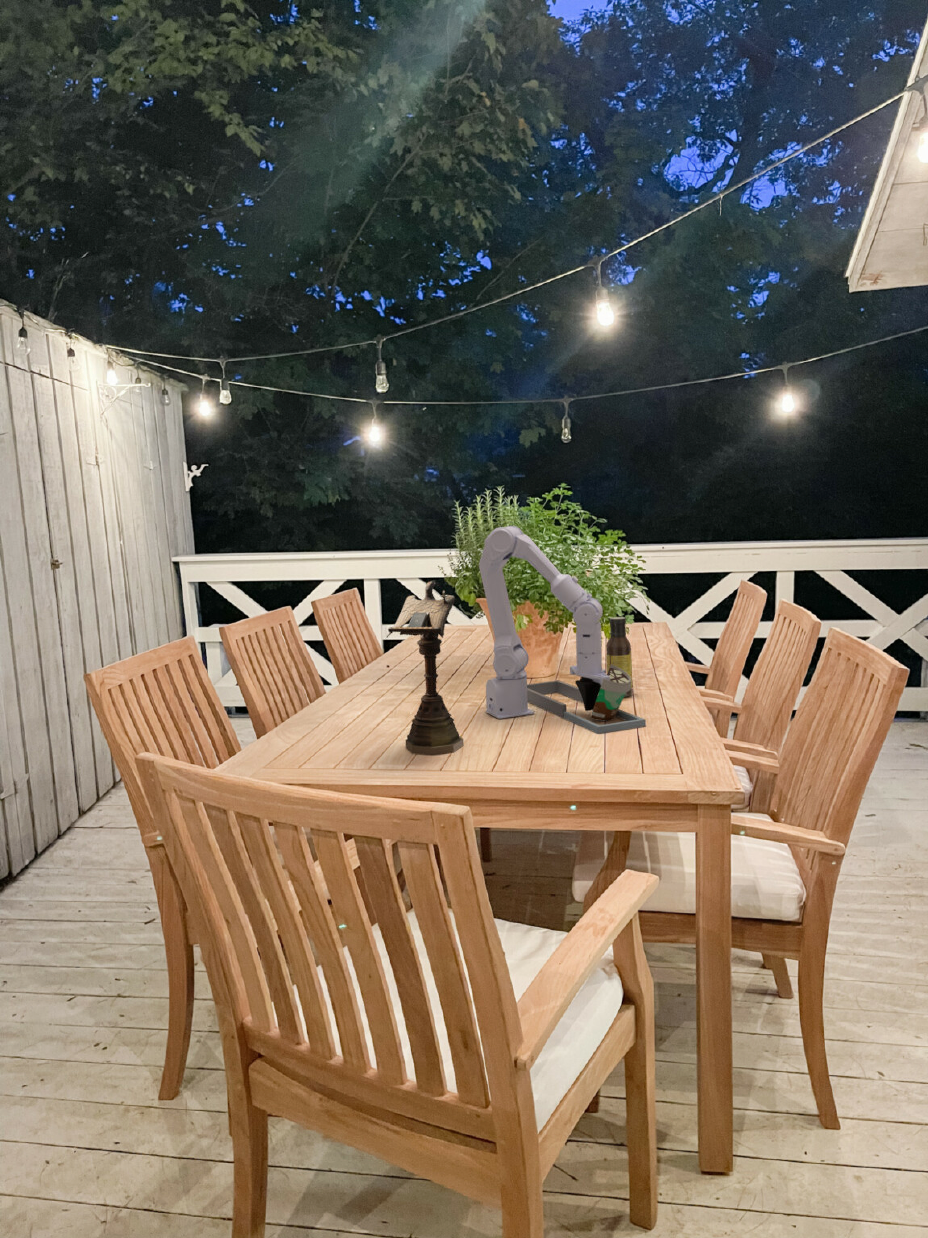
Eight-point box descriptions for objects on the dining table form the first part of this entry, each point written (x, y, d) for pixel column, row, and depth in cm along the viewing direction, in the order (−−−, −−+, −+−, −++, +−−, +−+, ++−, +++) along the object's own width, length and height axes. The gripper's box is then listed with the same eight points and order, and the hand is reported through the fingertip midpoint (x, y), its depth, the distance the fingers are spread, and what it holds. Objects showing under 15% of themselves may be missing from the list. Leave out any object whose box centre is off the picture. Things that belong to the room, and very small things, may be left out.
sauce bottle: (637, 695, 210) (636, 617, 207) (619, 699, 206) (618, 620, 204) (619, 691, 215) (618, 615, 212) (601, 695, 212) (600, 617, 209)
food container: (615, 730, 183) (630, 689, 180) (589, 720, 184) (603, 680, 181) (622, 710, 194) (636, 672, 191) (597, 701, 196) (610, 663, 192)
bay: (598, 734, 177) (597, 727, 177) (563, 718, 191) (563, 712, 191) (645, 726, 181) (645, 719, 181) (608, 711, 195) (608, 705, 195)
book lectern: (446, 765, 160) (438, 584, 155) (386, 759, 165) (376, 584, 160) (478, 741, 175) (471, 576, 170) (422, 737, 180) (414, 576, 175)
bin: (562, 717, 191) (562, 705, 191) (517, 697, 213) (517, 685, 213) (607, 711, 196) (607, 698, 195) (558, 691, 218) (558, 680, 217)
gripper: (621, 655, 184) (622, 715, 186) (587, 645, 197) (588, 701, 199) (594, 658, 181) (595, 719, 183) (561, 648, 195) (562, 705, 197)
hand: (589, 710), depth 191 cm, fingers closed, pressing on food container
